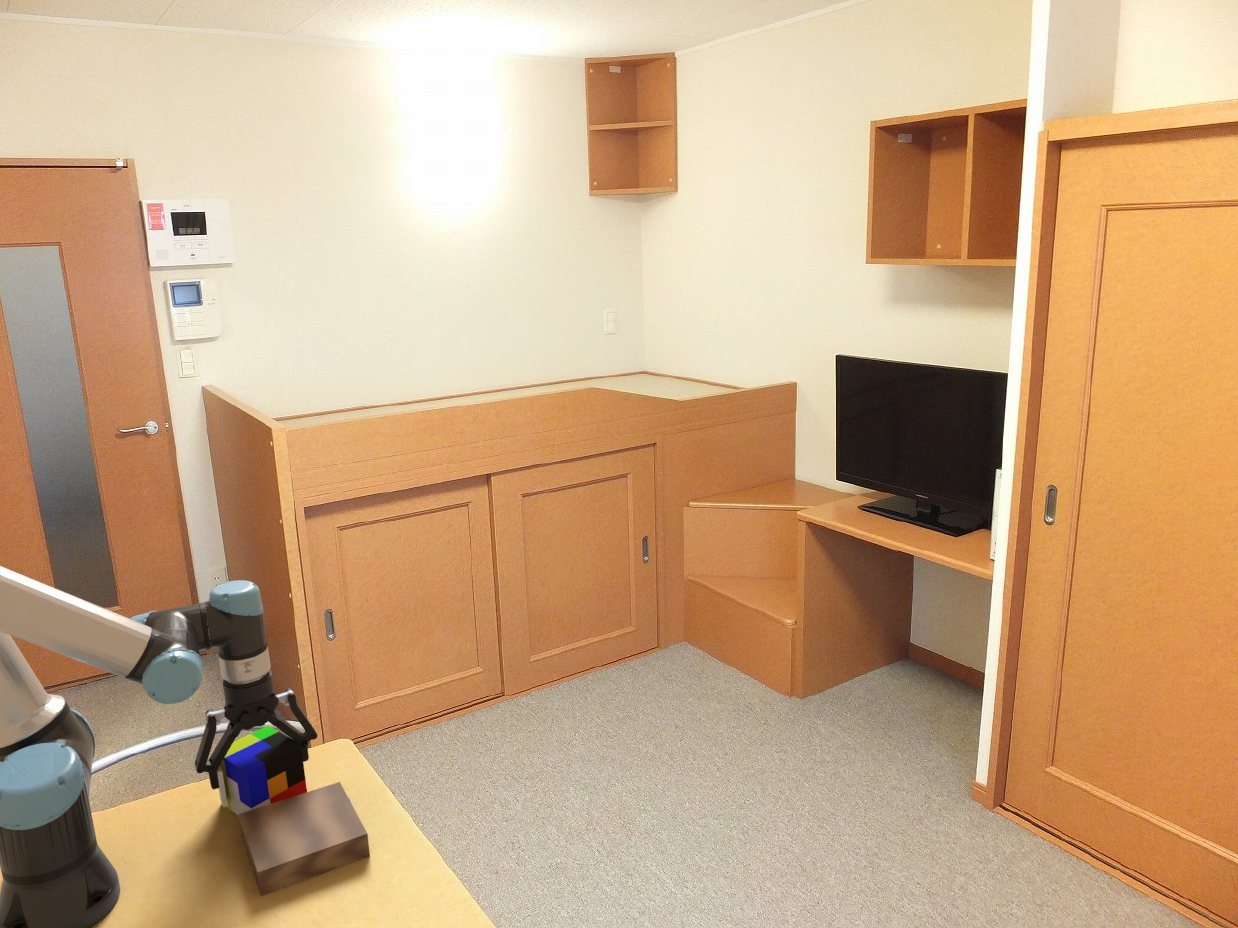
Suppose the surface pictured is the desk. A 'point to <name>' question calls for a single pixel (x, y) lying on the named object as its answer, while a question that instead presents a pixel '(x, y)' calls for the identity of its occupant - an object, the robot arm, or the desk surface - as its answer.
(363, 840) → the walnut plinth
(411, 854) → the desk surface
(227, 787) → the puzzle toy
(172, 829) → the desk surface
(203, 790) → the desk surface
